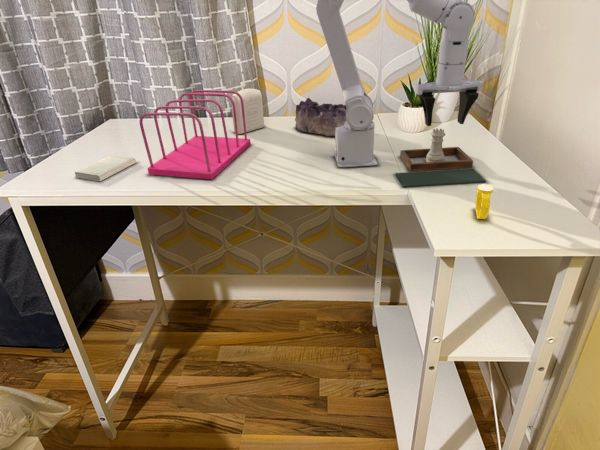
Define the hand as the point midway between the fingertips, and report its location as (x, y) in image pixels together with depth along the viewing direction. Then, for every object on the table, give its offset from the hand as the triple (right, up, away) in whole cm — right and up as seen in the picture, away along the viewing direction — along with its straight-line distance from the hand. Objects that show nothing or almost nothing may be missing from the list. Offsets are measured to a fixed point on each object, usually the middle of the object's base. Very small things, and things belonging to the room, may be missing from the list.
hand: (444, 123), depth 101 cm
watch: (0, -22, -19) cm, 29 cm away
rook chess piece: (-1, -9, +4) cm, 10 cm away
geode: (-26, +4, +29) cm, 39 cm away
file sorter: (-59, -6, +14) cm, 61 cm away
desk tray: (-1, -8, +4) cm, 9 cm away
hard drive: (-83, -10, +10) cm, 84 cm away
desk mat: (-3, -13, -4) cm, 14 cm away
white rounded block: (-49, +6, +34) cm, 60 cm away
